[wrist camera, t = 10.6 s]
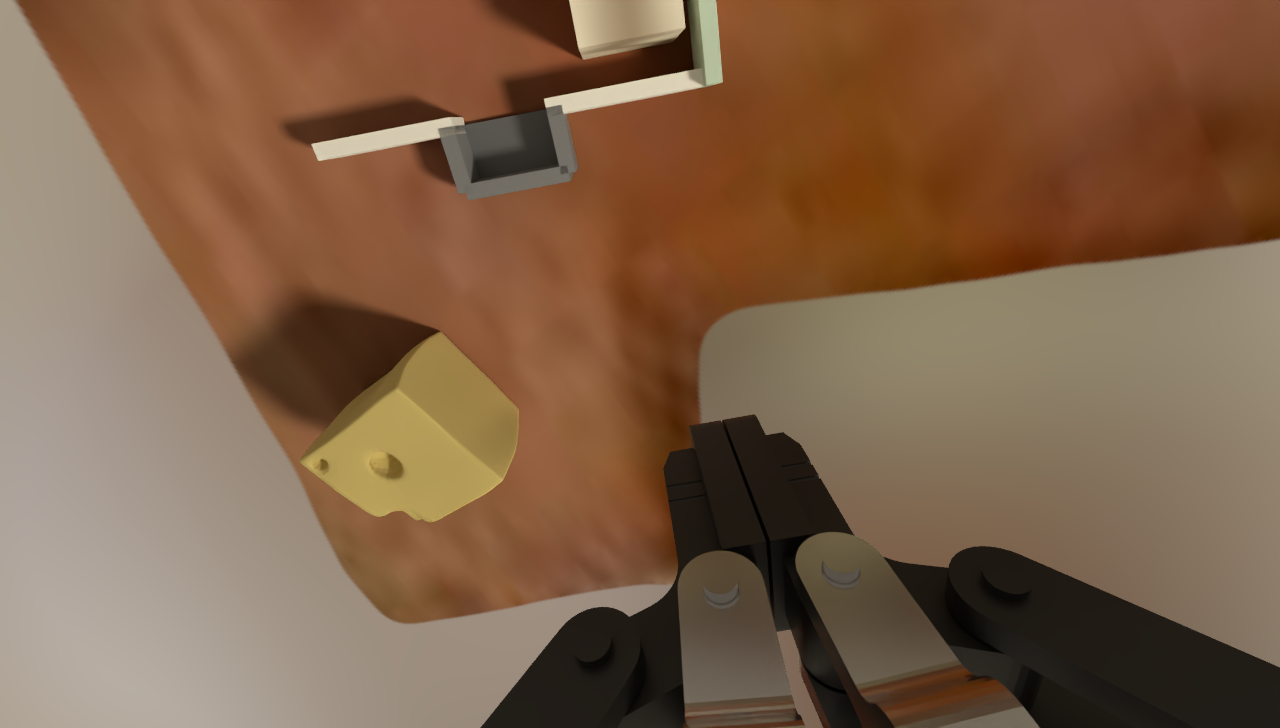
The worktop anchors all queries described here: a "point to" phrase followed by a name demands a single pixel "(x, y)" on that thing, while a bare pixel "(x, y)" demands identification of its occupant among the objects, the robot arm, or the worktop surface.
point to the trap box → (537, 125)
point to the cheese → (420, 437)
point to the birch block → (625, 24)
